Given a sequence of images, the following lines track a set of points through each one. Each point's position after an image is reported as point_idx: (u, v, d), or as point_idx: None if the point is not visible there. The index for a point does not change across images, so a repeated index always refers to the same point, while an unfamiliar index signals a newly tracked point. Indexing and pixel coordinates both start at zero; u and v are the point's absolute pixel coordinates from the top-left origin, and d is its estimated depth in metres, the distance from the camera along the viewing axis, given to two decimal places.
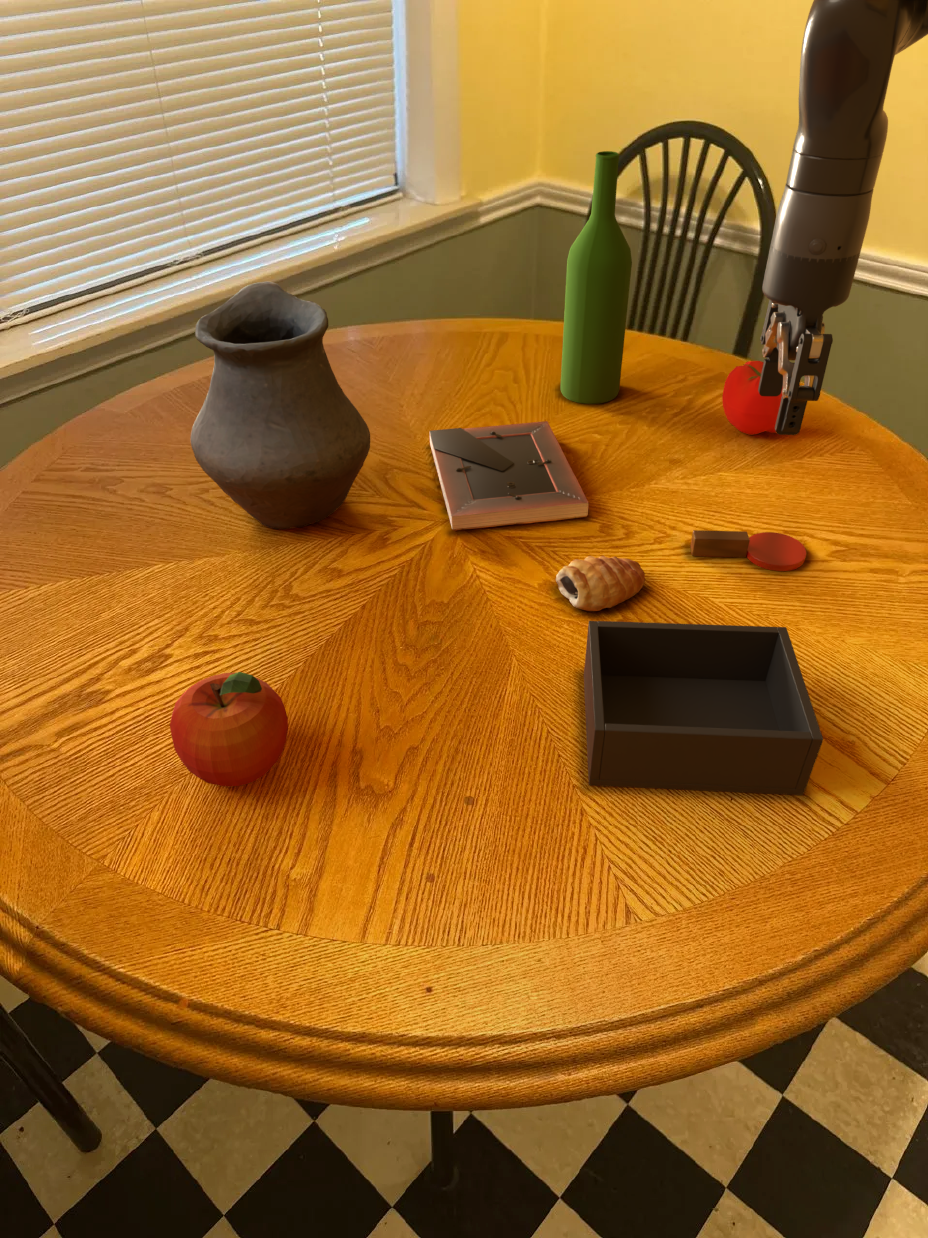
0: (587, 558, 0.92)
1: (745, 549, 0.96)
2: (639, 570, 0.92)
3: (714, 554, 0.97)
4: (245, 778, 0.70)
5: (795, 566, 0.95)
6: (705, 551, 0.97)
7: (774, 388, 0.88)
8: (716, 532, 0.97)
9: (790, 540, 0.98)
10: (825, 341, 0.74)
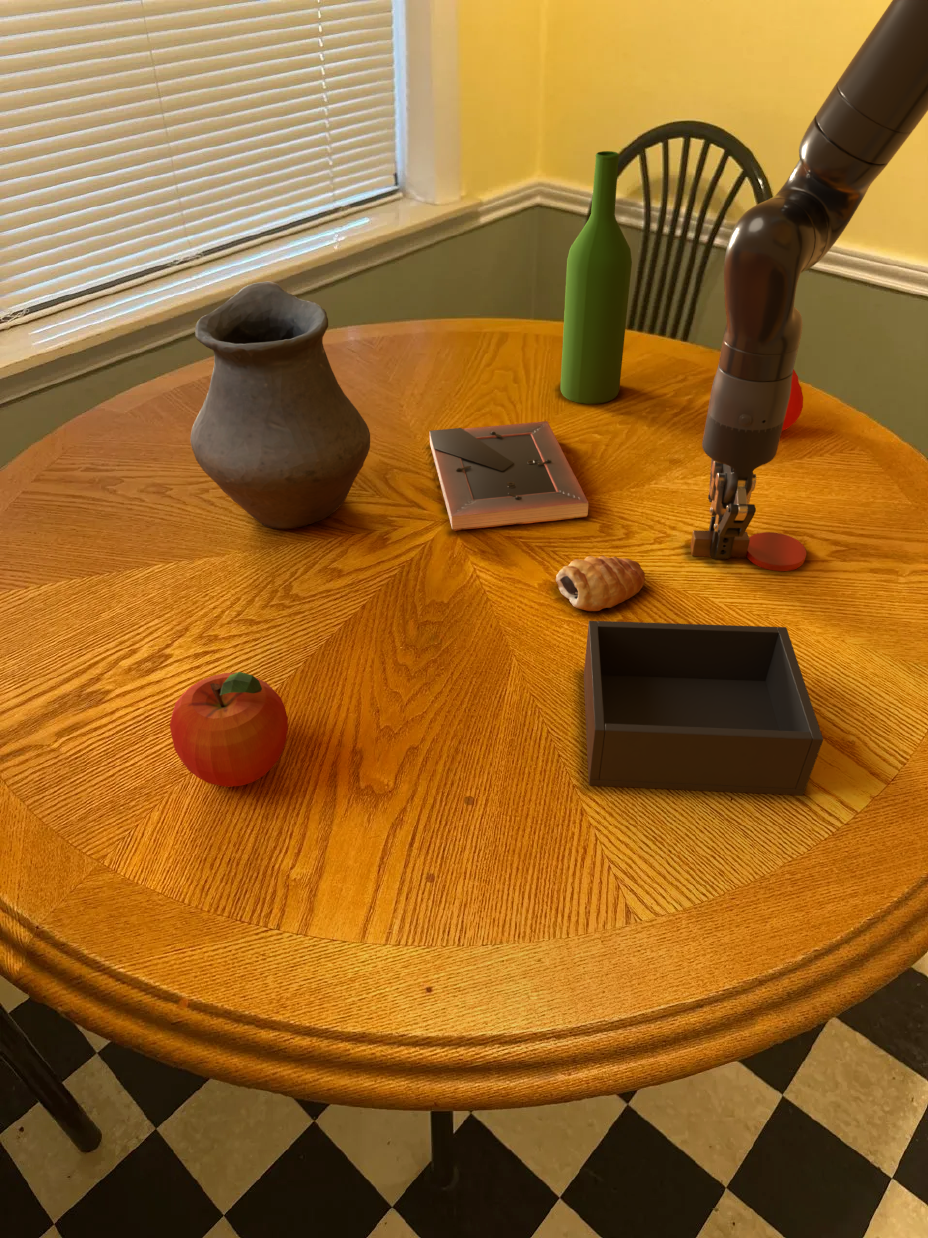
0: (587, 558, 0.92)
1: (745, 549, 0.96)
2: (639, 570, 0.92)
3: None
4: (245, 778, 0.70)
5: (795, 566, 0.95)
6: (705, 551, 0.97)
7: None
8: None
9: (790, 540, 0.98)
10: (748, 514, 0.87)
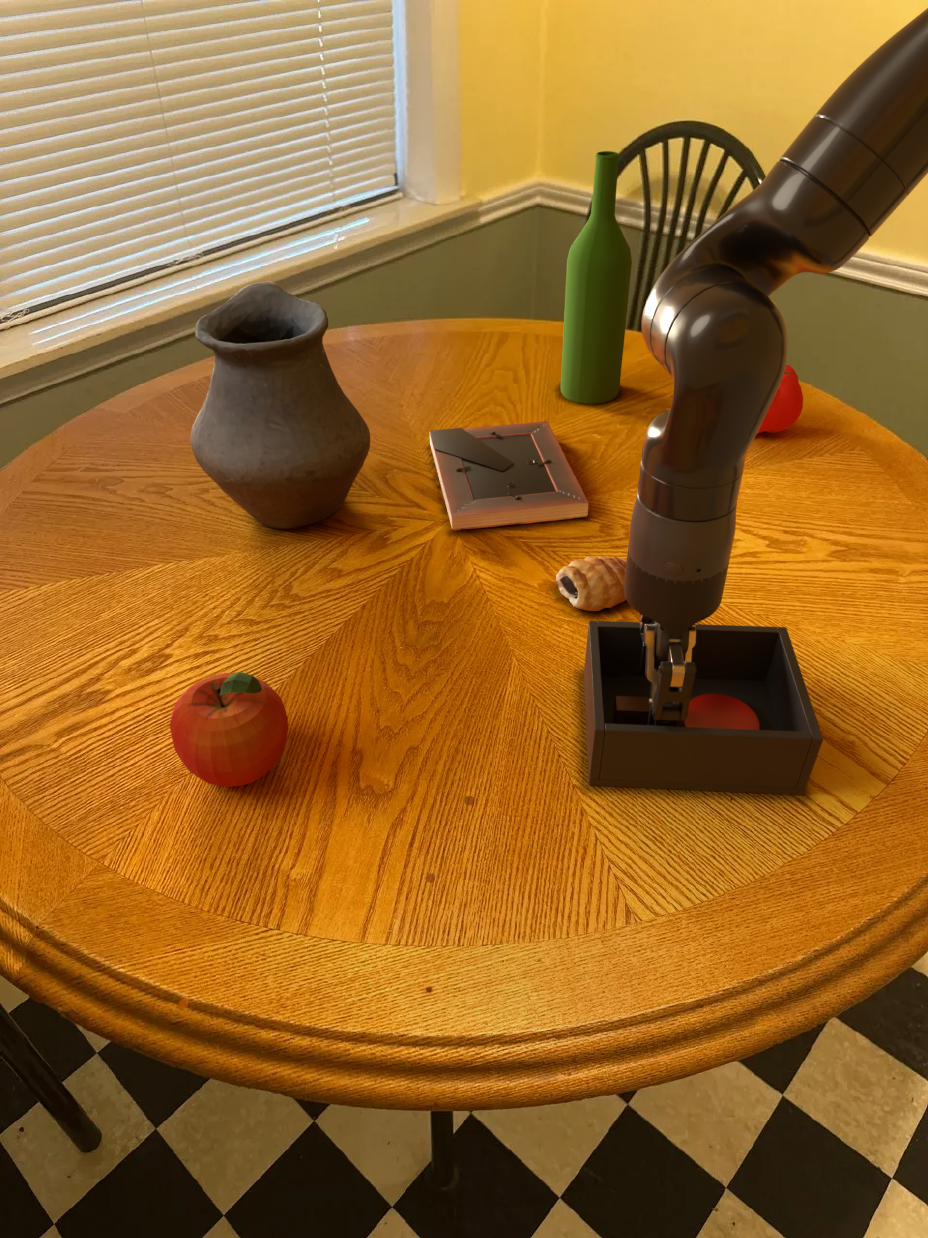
0: (587, 558, 0.92)
1: (681, 722, 0.75)
2: None
3: None
4: (245, 778, 0.70)
5: None
6: (630, 724, 0.76)
7: (656, 669, 0.77)
8: (644, 700, 0.75)
9: (740, 707, 0.77)
10: (687, 674, 0.63)
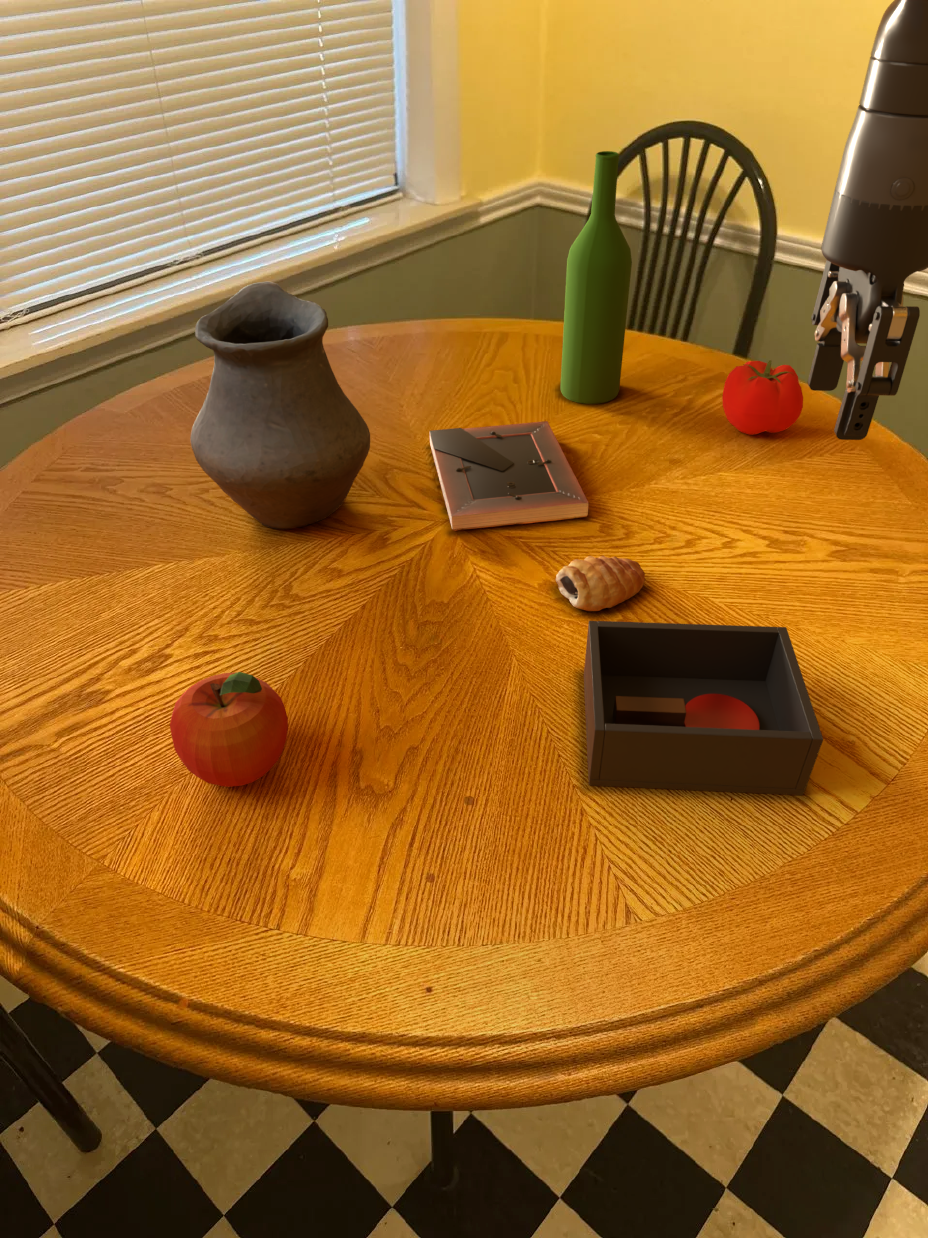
0: (587, 558, 0.92)
1: (681, 722, 0.75)
2: (639, 570, 0.92)
3: None
4: (245, 778, 0.70)
5: None
6: (630, 724, 0.76)
7: (828, 380, 0.70)
8: (644, 700, 0.75)
9: (740, 707, 0.77)
10: (909, 316, 0.56)
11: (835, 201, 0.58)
